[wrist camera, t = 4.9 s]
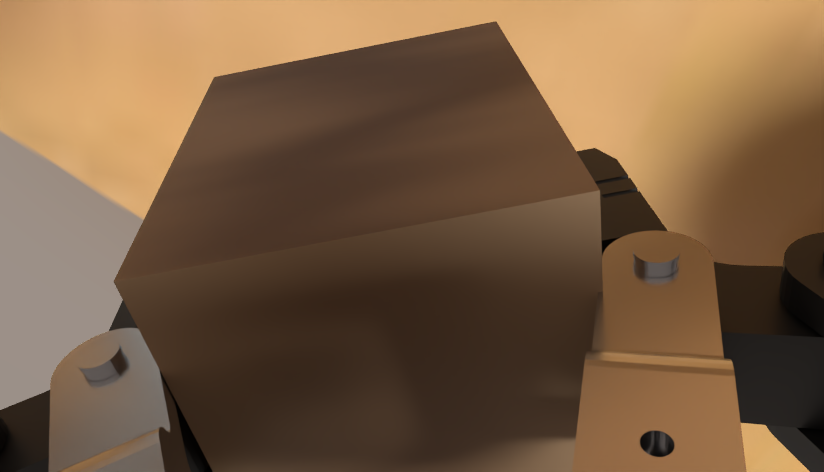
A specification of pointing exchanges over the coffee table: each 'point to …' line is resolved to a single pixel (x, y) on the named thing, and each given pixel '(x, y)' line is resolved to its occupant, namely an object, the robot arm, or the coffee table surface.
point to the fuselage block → (374, 265)
